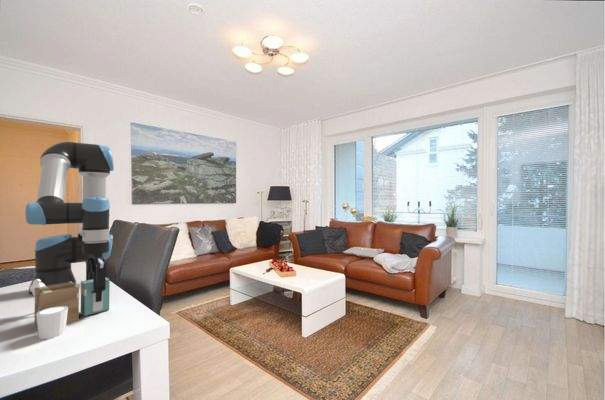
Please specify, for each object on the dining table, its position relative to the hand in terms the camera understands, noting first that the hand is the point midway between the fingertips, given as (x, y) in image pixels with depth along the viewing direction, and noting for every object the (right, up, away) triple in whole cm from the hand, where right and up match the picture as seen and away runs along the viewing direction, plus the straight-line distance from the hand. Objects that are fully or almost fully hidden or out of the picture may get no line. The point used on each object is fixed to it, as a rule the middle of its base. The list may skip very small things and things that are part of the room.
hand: (95, 308), depth 94 cm
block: (0, -1, 0) cm, 1 cm away
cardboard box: (-6, -1, -8) cm, 10 cm away
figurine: (-18, -1, -2) cm, 18 cm away
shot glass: (0, -1, -16) cm, 16 cm away
